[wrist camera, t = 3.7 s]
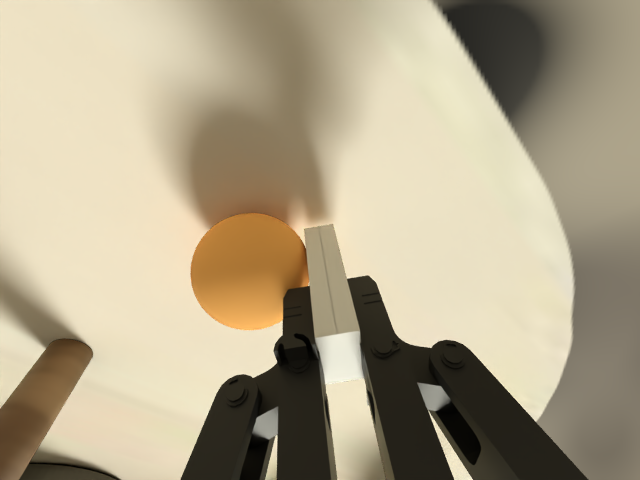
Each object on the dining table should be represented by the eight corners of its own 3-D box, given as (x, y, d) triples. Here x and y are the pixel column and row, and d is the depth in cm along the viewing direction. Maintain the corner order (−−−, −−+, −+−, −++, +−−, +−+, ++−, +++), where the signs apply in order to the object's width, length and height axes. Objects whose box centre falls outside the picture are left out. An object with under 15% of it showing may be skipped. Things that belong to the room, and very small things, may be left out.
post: (64, 365, 21) (-55, 544, 14) (39, 342, 20) (-110, 529, 12) (100, 359, 21) (1, 534, 14) (78, 336, 20) (-47, 518, 12)
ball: (256, 267, 19) (192, 334, 15) (230, 188, 16) (140, 248, 12) (335, 286, 17) (281, 372, 13) (320, 197, 14) (244, 276, 10)
